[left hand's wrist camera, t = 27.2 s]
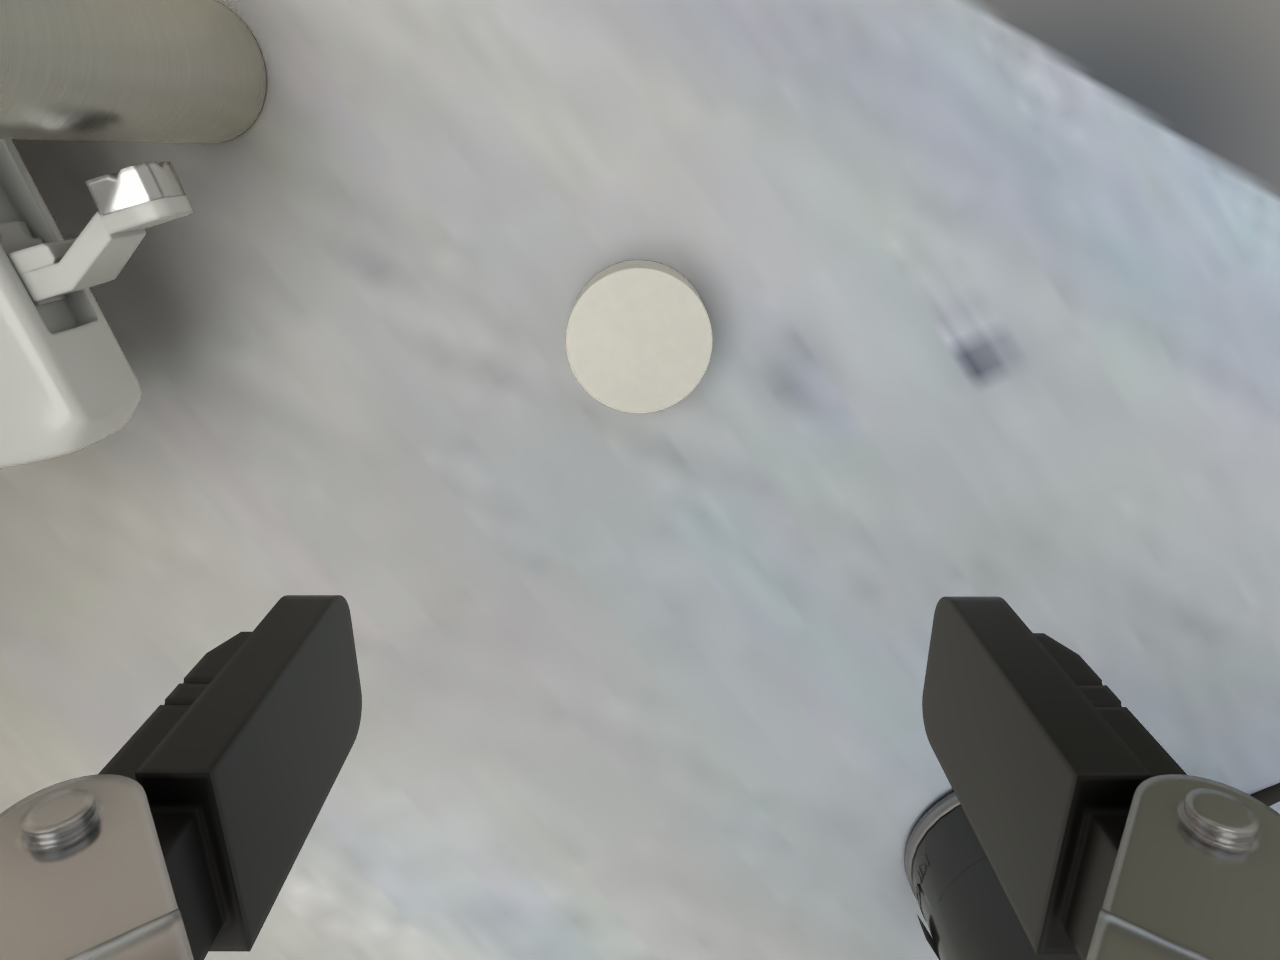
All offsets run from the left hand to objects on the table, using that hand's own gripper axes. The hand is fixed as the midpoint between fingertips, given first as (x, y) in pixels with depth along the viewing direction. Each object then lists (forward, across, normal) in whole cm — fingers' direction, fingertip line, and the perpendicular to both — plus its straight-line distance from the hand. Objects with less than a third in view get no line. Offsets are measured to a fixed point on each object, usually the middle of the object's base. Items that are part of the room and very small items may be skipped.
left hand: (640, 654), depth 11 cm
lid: (+20, 0, 0) cm, 20 cm away
